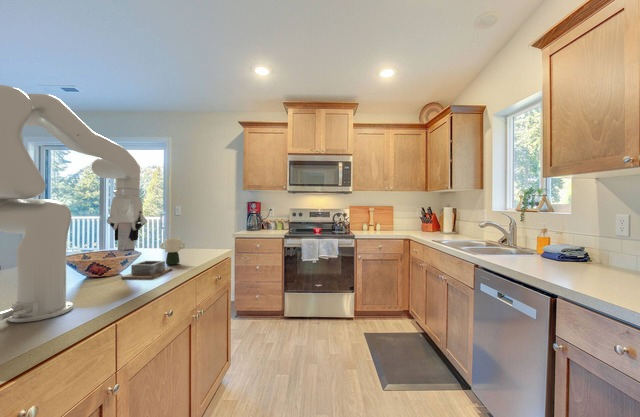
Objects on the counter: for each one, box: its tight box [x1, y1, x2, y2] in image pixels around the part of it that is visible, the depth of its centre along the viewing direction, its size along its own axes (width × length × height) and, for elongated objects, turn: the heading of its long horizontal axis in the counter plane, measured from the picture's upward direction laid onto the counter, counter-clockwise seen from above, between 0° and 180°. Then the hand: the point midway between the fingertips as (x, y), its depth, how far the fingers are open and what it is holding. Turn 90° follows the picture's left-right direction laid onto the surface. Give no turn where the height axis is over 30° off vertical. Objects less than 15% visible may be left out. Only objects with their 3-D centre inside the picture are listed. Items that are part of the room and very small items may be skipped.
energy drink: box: [117, 223, 136, 254], centre depth 105 cm, size 5×5×12 cm
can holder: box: [121, 260, 173, 280], centre depth 118 cm, size 16×12×5 cm
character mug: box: [160, 237, 186, 265], centre depth 138 cm, size 11×7×13 cm, turn 104°
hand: (126, 239), depth 105 cm, fingers closed on energy drink, 5 cm apart
